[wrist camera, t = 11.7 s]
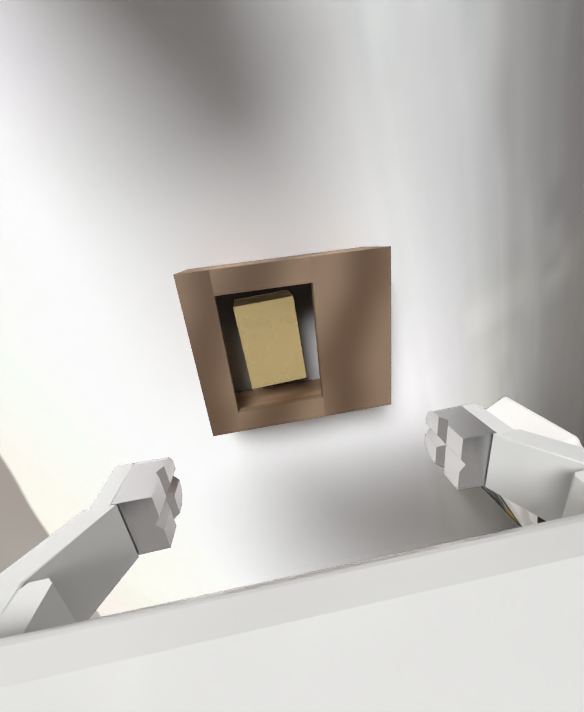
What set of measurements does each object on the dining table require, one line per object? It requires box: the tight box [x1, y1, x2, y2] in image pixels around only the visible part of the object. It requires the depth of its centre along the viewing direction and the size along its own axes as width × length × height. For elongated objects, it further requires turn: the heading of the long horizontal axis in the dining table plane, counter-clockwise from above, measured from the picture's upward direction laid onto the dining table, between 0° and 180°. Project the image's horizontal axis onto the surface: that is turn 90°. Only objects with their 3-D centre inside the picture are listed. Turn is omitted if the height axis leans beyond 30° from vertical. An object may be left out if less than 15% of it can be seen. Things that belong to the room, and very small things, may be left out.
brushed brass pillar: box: [233, 290, 306, 389], centre depth 22 cm, size 4×6×4 cm, turn 10°
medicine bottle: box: [481, 397, 582, 527], centre depth 25 cm, size 7×7×12 cm
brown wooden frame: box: [174, 246, 391, 436], centre depth 22 cm, size 13×11×5 cm
